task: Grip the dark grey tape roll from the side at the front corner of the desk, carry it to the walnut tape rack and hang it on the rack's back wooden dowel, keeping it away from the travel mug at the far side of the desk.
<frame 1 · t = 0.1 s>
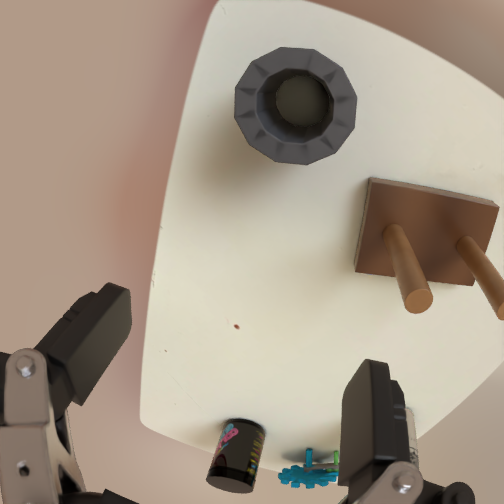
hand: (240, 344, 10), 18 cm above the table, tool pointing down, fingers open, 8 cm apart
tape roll: (302, 101, 22), on the table
supplement container: (245, 427, 45), on the table
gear: (314, 455, 46), on the table
travel mug: (386, 418, 38), on the table
tape rack: (426, 232, 25), on the table
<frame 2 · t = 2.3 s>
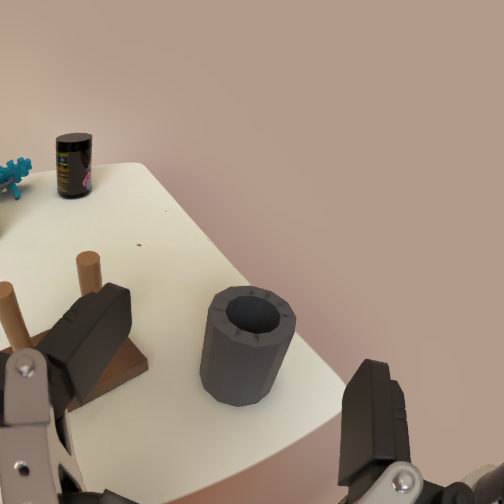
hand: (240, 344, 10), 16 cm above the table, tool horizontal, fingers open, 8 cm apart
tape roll: (236, 376, 28), on the table
supplement container: (74, 193, 52), on the table
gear: (9, 196, 47), on the table
tape rack: (71, 367, 24), on the table
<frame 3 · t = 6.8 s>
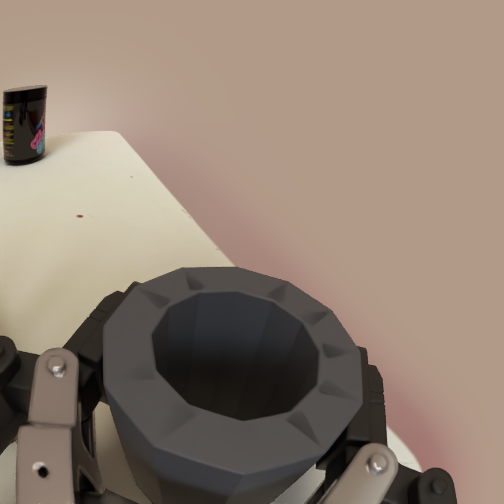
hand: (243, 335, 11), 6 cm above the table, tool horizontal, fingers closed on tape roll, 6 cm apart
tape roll: (207, 460, 12), on the table, touching gripper
supplement container: (24, 160, 36), on the table
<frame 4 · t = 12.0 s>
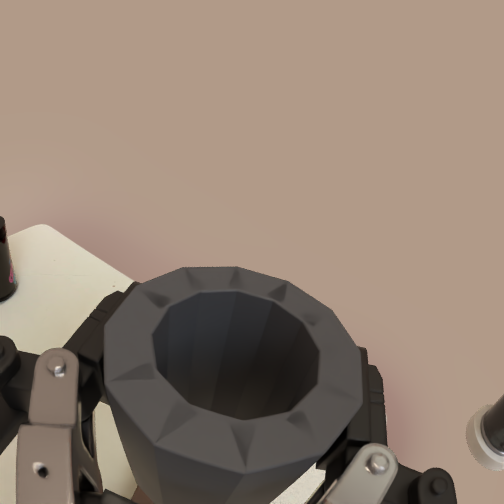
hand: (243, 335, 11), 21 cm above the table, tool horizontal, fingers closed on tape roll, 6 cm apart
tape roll: (207, 459, 12), point 15 cm above the table, touching gripper
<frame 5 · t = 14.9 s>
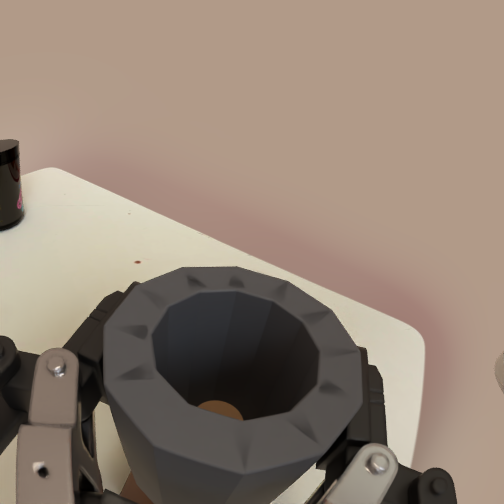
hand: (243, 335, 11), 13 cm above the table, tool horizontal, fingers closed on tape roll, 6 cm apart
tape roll: (207, 459, 12), point 7 cm above the table, touching gripper
supplement container: (4, 221, 34), on the table
tape rack: (213, 448, 18), on the table
when the fingers open (8 cm above the table, at t = 17.2 s): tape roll stays where it is, resting on tape rack.
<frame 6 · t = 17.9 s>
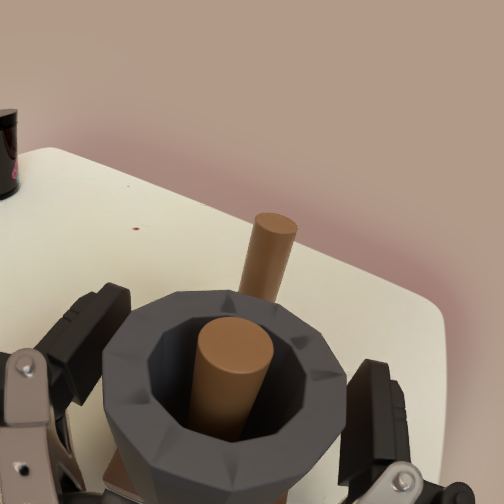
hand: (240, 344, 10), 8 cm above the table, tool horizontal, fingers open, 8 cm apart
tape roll: (203, 468, 12), point 1 cm above the table, touching tape rack
tape rack: (219, 422, 16), on the table
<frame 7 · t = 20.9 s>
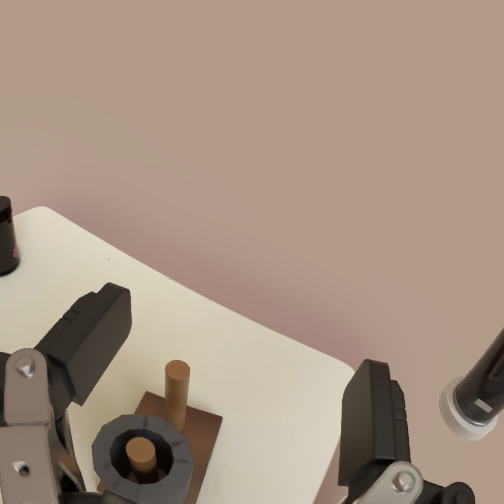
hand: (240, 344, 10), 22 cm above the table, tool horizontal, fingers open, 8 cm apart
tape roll: (149, 486, 20), point 1 cm above the table, touching tape rack
supplement container: (3, 266, 40), on the table
tape rack: (163, 459, 24), on the table
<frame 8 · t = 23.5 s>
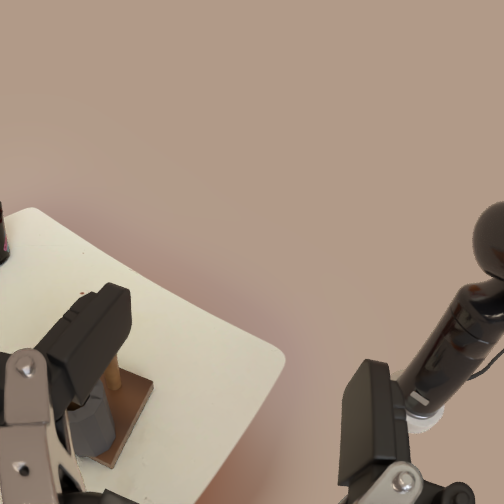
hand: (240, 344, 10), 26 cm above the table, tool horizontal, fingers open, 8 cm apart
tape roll: (86, 430, 26), point 1 cm above the table, touching tape rack
tape rack: (102, 412, 30), on the table
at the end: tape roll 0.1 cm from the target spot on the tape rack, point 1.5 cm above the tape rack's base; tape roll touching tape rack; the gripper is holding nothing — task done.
